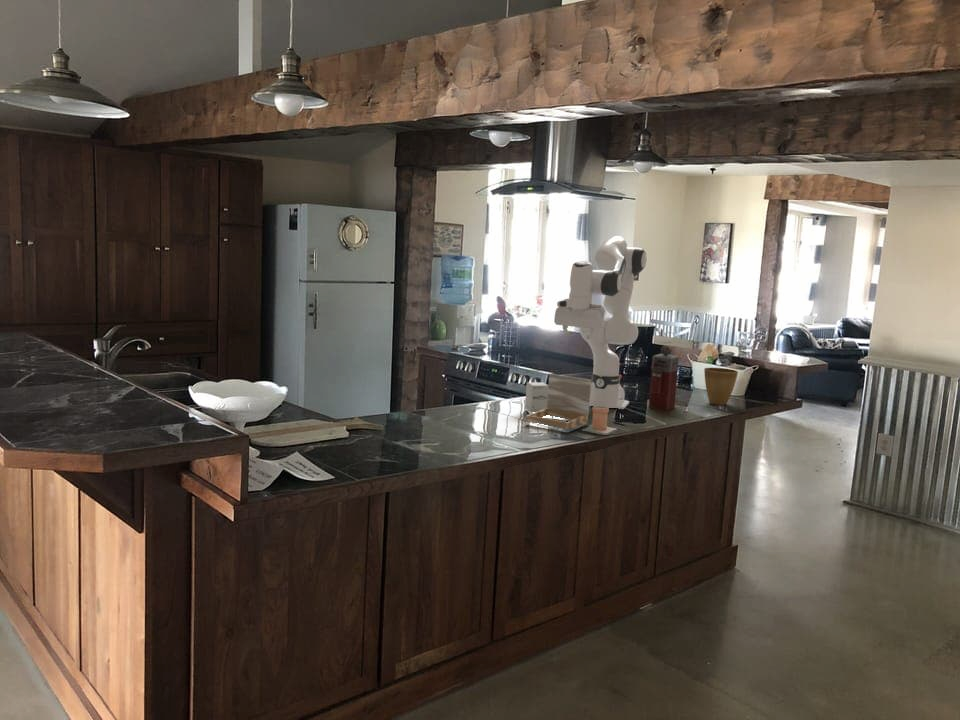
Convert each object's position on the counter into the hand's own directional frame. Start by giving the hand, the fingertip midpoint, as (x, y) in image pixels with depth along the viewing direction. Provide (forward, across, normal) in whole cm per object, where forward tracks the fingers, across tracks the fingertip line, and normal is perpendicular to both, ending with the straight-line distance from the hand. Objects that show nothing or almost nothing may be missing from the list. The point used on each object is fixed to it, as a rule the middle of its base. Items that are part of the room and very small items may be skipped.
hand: (578, 338), depth 307 cm
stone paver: (+33, -15, +10) cm, 38 cm away
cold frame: (+33, +2, +12) cm, 35 cm away
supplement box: (+34, +18, -1) cm, 38 cm away
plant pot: (+36, -38, -78) cm, 94 cm away
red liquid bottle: (+35, -20, -50) cm, 64 cm away
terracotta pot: (+32, -15, +10) cm, 37 cm away
